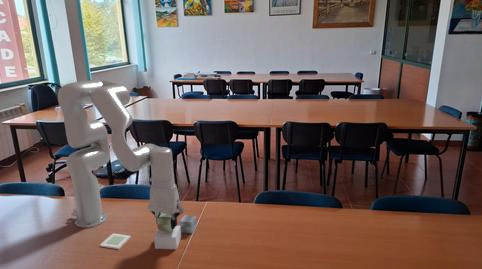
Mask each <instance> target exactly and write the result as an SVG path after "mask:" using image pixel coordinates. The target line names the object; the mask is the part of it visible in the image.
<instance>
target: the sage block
mask: <svg viewBox="0 0 482 269" xmlns="http://www.w3.org/2000/svg"><path fill="white" fill-rule="evenodd" d="M171 219H172V218H171V215H170V214H167V213H161V215H160V216H159V217H158V218H157V221H156V225H157V224H158V226H157V230H158V231H164V232H171V231H172V230H173V229H172V228H171Z"/></svg>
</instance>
